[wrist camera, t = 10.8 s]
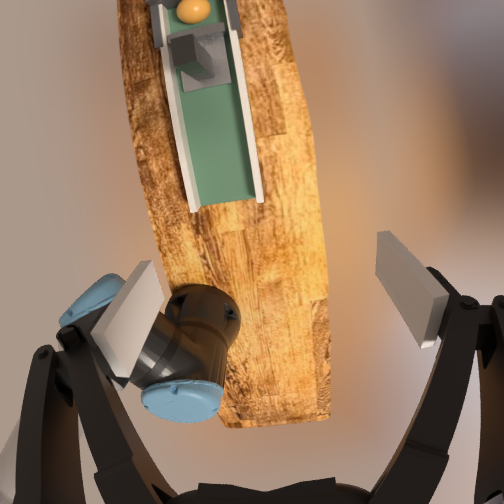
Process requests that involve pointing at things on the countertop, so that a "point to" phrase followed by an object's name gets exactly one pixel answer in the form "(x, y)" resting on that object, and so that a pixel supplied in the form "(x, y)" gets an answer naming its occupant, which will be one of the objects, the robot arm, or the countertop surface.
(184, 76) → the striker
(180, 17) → the ball
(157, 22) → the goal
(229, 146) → the board
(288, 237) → the countertop surface
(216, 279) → the countertop surface
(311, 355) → the countertop surface
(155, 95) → the countertop surface
